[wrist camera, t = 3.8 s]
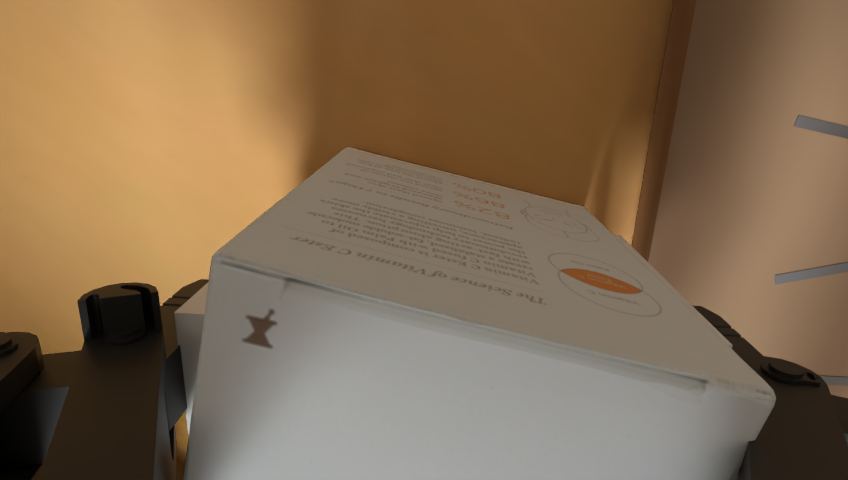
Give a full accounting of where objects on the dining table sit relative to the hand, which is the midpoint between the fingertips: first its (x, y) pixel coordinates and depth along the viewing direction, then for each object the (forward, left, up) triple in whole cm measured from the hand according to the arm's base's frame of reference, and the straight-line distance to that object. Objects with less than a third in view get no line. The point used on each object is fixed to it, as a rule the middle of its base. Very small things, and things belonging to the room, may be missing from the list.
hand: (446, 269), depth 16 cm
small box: (0, 0, -2) cm, 2 cm away
